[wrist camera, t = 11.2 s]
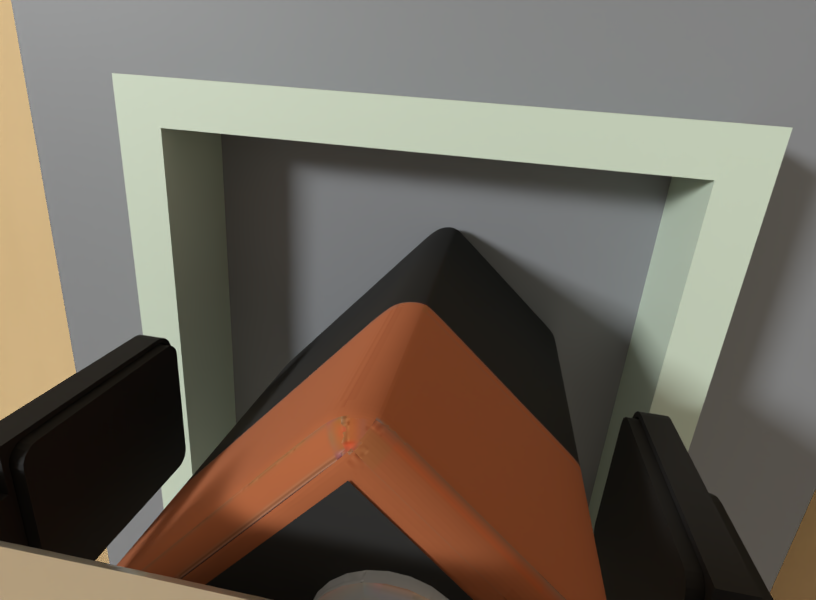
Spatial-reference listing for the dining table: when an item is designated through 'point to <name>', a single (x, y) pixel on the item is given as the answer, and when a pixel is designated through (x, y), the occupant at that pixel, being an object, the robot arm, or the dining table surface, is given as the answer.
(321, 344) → the battery
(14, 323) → the dining table surface
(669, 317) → the slot tray
